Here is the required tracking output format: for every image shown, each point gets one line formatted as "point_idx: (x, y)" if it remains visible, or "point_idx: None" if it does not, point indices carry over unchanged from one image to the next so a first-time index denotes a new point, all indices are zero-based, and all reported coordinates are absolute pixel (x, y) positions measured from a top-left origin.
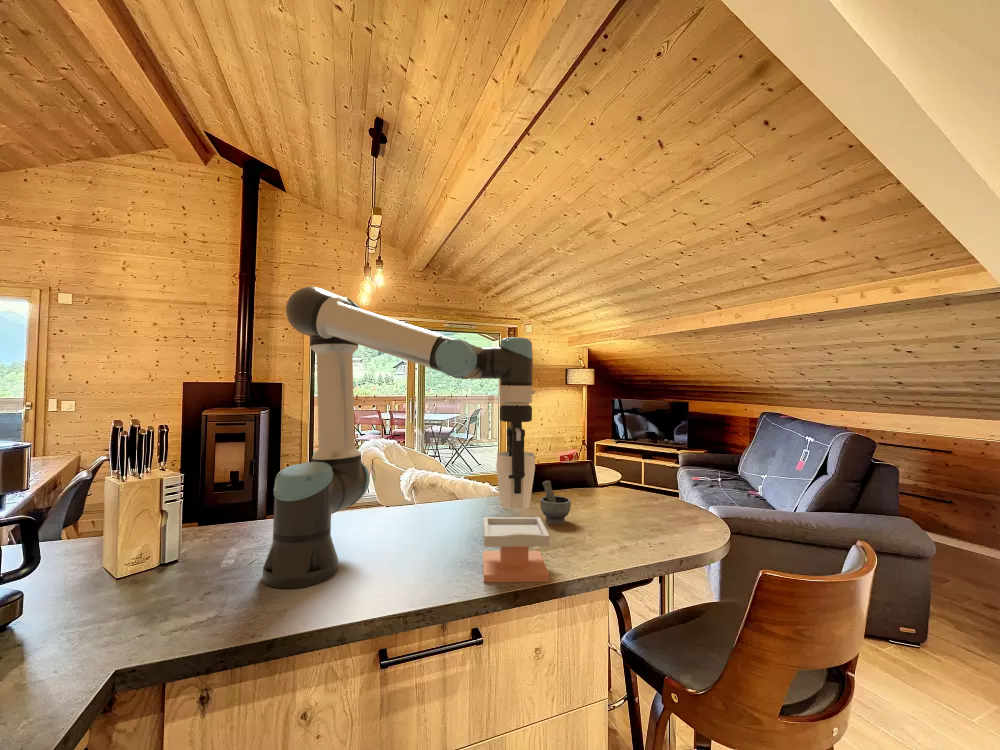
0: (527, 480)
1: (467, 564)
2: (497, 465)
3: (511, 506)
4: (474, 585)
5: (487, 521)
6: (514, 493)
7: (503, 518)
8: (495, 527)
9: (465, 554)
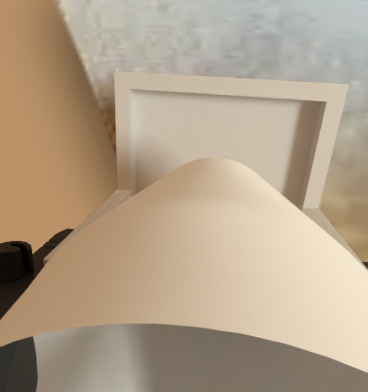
0: (109, 340)
1: (262, 37)
2: (144, 215)
3: (114, 193)
4: (136, 52)
5: (285, 97)
6: (70, 229)
7: (313, 165)
8: (265, 126)
9: (340, 32)
